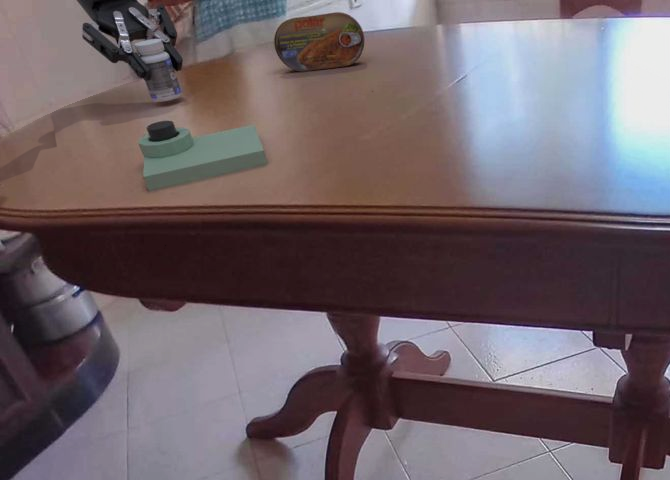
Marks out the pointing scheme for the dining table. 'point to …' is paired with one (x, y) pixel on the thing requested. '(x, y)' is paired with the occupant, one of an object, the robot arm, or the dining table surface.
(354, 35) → the tin
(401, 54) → the dining table surface
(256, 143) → the scale
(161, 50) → the pill bottle
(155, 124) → the button
